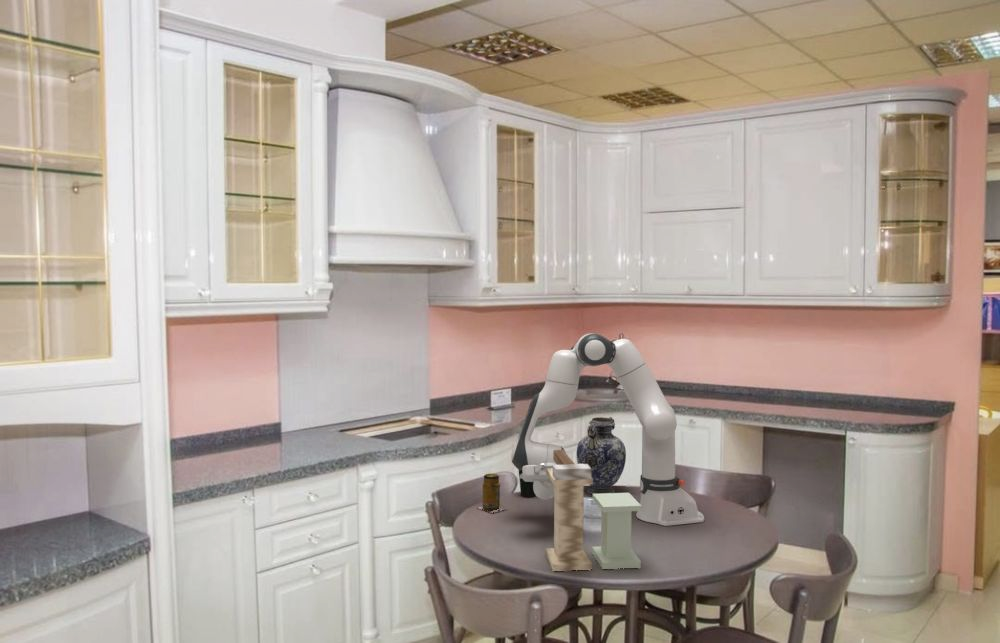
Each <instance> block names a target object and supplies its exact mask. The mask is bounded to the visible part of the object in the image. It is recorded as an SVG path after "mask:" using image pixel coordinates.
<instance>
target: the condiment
mask: <svg viewBox="0 0 1000 643" xmlns="http://www.w3.org/2000/svg"><path fill="white" fill-rule="evenodd" d="M499 478H500V476H499V474H497V473H485V474H484V475H483V482H482V506H478V507H477V509H479V510H481V511H484V512H487V513H491V514H496V513H495V512H494V513H493V512H491V511H493V510H497V509H499V507H501V506H500V505H501V503H500V501H501V500H500V498H501V496H500V495H501V492H500V491H501V490H500V489H501V483H500V479H499ZM481 507H483V509H484V510H482V508H481ZM486 510H488V511H486ZM499 510H500V509H499Z"/></svg>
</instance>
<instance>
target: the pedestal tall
mask: <svg viewBox="0 0 1000 643" xmlns="http://www.w3.org/2000/svg"><path fill="white" fill-rule="evenodd" d="M546 474H547V476H548V477H549V479H550V480H551V482H552V483H553V485H554V497H553V499H554V501H553V502H554V504H553V506H554V509H553V513H554V515H553V516H554V517H553V518H554V519H553V520H554V521H553V524H554V525H553V526H554V527H553V547H548V548H545V557H546V559H548V560H547V562H548V561H549V562H548V564H549V563H550V564H549V567H550V569H551V570H552V572H553V571H564V572H573V571H572V570H576V571H575V572H578V571H577V570H589V571H592V570H593V563H592V561H591V560H590V558H589V555H588V554H587V553H586V551H585V549H584V485H589V484H593V478H592V477H591V479H577V480H555V478H554V477H553V468H546ZM591 569H592V570H591ZM570 570H571V571H570Z"/></svg>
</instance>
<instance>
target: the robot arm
mask: <svg viewBox="0 0 1000 643" xmlns="http://www.w3.org/2000/svg"><path fill="white" fill-rule="evenodd" d="M602 365H607V366H609V367H610V369H611V370H612V372H613V374H614V376H615V377H616V379H617V381H618V383H619V384H620V386H621V388H622V389H623V391H624V393H625V395H626V396H627V399H628V401H629V403H630V405H631V407H632V408H633V411H634V413H635V414H636V416H637V419H638V421H639V422H640V424H641V427H642V429H641V432H642V434H641V439H642V440H641V447H642V448H641V475H640V478H639V479H640V480H639V491H640V497H639V502H638V503H639V504H640V505H641V506H642V511H636V513H635V514H636V517H637V519H639V520H641V521H643V522H647V523H653V524H658V525H659V526H665V527H668V526H678V525H685V524H686V525H687V524H688V525H689V524H695V523H703V522H704V521H705V516H704V514H703V513H702V512H701V511H699V510H698V505H697V502H696V499H694V498H693V496H691V495H690V494H689V493H688V492H687V491H685V490H684V489H682V488H681V487H684V486H686V481H685V480H684V479H682V478H679V477H677V476H676V429H677V426H678V425H677V421H678V420H677V419H676V418H677V417H676V414H675V411H674V409H673V407H672V406H671V405H670V404H669V403H668V400H667V399H666V397H665V395H664V393H663V391H662V390H661V388H660V386H659V384H658V382H657V380H656V378H655V377H654V375H653V373H652V371H651V370H650V367H649V366H648V363H647V362H646V361H645V359H644V357H643V355H642V354H641V353H640V351H639V350H638V348H637V347H636V346H635V344H634V343H633V342H632V341H631V340H629V339H627V338H621V339H620V338H619V339H615V340H614V341H611V340H610V339H608V338H607V337H605V336H603V335H601V334H597V333H586V334H583V335H582V336H581V337H580V338H579V339H578V340H577V341H576V342H575V344H574V345H572V347H571V348H570V349H559V350H557V351H556V352H554V353H553V355H552V357H551V360H550V362H549V365H548V369H547V374H546V379H545V383H544V386H543V387H542V389H541V391H540V392H538V393H536V394H534V396H533V397H532V399H531V401H530V403H529V406H528V409H527V411H526V414H525V418H524V420H523V423H522V426H521V429H520V432H519V435H518V437H517V439H516V440H517V441H516V442H515V443H514V446H513V449H512V451H511V463H512V465H513V466H514V467H515V468H516V469H518V471H519V470H522V472H523V474H521V475H520V478H521V479H523V480H524V481H526V482H534V483H533V490H534V493H535V495H536V496H535V497H537V498H539V499H541V500H543V501H546V500H550V499H554V485H553V483H552V482H551V480H550V479H549V477H548V476H547V474H546V468H553V465H557V464H556V463H555V461H554V460H553V450H564V452H565V453H566V454H567V452H566V451H565V449H564V447H563V446H562V445H558V444H551V443H546V442H545V443H544V442H539V441H538V442H537V441H533V440H532V436H533V432H534V429H535V427H536V424H537V421H538V419H539V418H540V416H542V415H543V414H545V413H548V412H552V411H557V410H562V409H565V408H566V407H569V406H570V405H571V404H573V402H574V401H575V400H576V396H577V394H578V391H579V390H578V388H579V383H580V382H579V381H580V376H581V373H582V371H583V369H584V368H586V367H598V366H602Z"/></svg>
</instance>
